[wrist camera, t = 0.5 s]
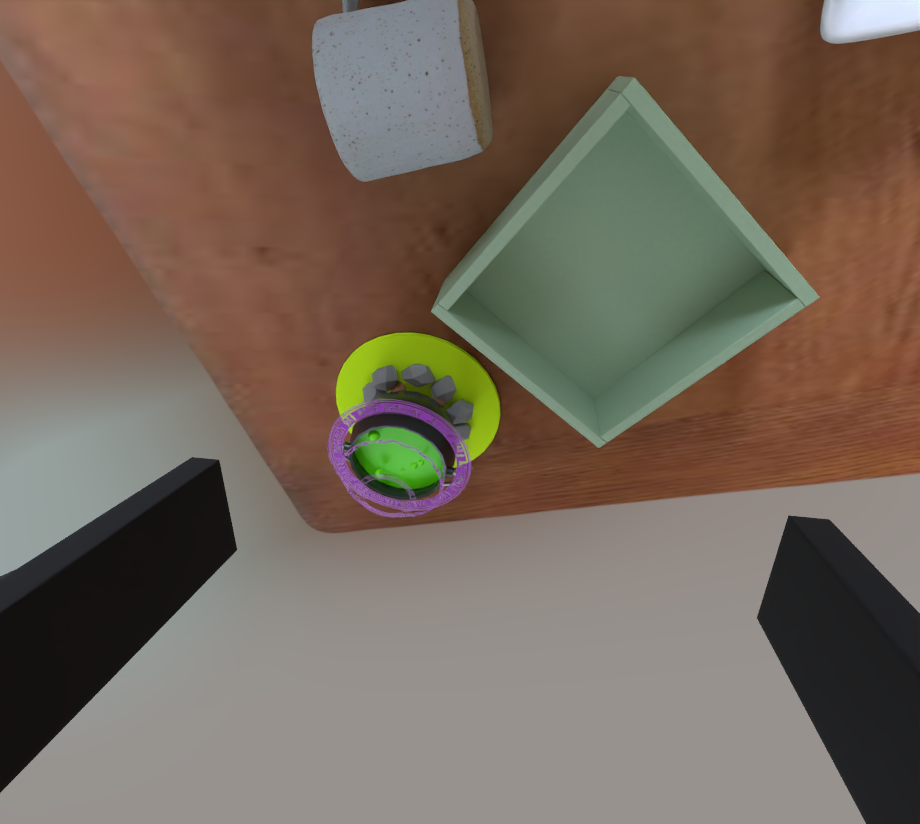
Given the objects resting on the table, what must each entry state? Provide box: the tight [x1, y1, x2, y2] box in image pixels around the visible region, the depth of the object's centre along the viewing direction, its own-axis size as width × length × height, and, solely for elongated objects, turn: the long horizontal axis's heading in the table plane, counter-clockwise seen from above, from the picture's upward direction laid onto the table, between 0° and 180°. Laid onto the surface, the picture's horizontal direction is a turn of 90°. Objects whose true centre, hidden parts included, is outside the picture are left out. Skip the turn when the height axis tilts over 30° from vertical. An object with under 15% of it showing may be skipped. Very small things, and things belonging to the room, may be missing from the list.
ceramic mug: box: [312, 0, 493, 182], centre depth 24 cm, size 11×8×8 cm
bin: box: [431, 76, 820, 448], centre depth 31 cm, size 16×16×6 cm
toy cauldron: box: [327, 332, 501, 518], centre depth 38 cm, size 15×15×11 cm
